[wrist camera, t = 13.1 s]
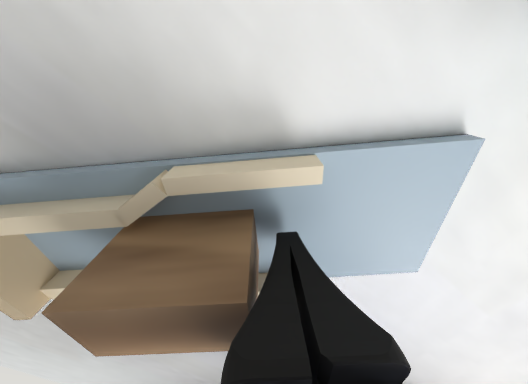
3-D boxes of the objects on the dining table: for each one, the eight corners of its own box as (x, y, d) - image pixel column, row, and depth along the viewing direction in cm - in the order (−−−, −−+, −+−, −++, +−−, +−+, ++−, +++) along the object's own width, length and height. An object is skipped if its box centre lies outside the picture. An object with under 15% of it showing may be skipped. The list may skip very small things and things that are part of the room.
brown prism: (258, 252, 14) (256, 349, 9) (155, 258, 14) (95, 356, 9) (253, 209, 12) (246, 302, 7) (133, 217, 12) (40, 313, 7)
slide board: (409, 262, 16) (448, 309, 13) (69, 283, 17) (21, 332, 14) (467, 134, 11) (563, 158, 7) (-36, 176, 12) (-158, 214, 8)
